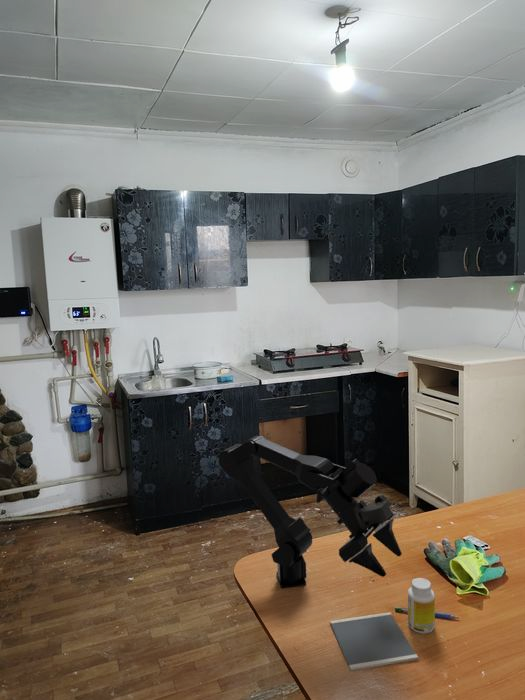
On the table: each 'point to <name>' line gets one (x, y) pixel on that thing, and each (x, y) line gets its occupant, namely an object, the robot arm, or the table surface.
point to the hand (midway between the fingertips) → (392, 565)
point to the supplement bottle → (421, 606)
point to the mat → (372, 641)
